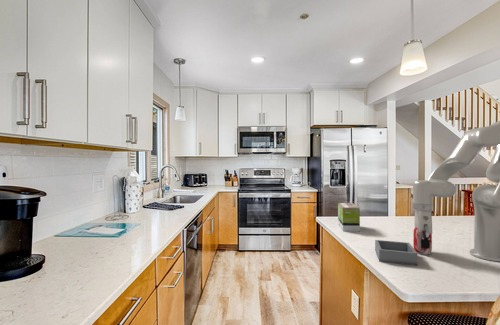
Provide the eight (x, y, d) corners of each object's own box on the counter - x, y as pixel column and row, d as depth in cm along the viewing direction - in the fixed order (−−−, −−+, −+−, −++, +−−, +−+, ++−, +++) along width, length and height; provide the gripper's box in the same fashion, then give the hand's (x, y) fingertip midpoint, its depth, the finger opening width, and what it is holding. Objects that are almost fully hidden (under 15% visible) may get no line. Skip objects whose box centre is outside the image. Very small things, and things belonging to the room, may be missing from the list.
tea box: (337, 225, 169) (337, 202, 169) (353, 225, 168) (353, 202, 167) (342, 231, 154) (342, 206, 154) (360, 232, 153) (360, 207, 153)
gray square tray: (409, 253, 118) (409, 242, 118) (417, 265, 105) (417, 253, 105) (375, 250, 123) (375, 239, 123) (379, 261, 110) (379, 249, 110)
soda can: (434, 256, 115) (435, 229, 115) (417, 255, 116) (417, 228, 116) (427, 250, 122) (427, 225, 122) (410, 249, 123) (410, 224, 123)
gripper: (438, 211, 109) (438, 252, 110) (426, 204, 126) (425, 239, 126) (418, 210, 112) (417, 250, 112) (408, 203, 128) (408, 238, 128)
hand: (422, 244), depth 119 cm, fingers open, 8 cm apart
